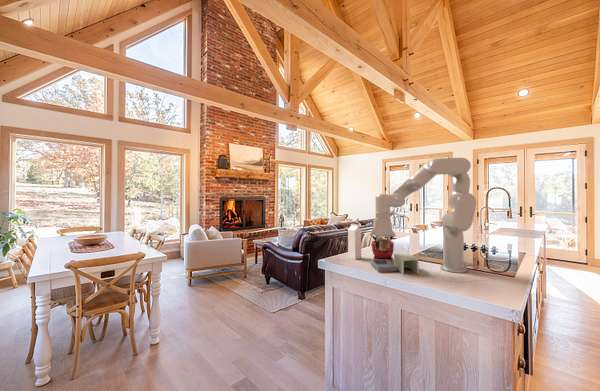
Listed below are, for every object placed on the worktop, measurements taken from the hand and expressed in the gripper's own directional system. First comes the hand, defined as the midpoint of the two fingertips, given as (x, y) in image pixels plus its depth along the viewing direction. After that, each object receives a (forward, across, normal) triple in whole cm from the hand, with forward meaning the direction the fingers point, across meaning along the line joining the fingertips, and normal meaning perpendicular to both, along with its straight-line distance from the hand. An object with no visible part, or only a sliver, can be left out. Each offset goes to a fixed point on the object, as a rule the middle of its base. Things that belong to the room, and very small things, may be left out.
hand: (382, 247), depth 147 cm
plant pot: (+12, -5, -16) cm, 20 cm away
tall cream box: (+11, -11, +5) cm, 17 cm away
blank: (+1, 0, 0) cm, 1 cm away
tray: (+12, 0, 0) cm, 12 cm away
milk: (+12, +11, -23) cm, 28 cm away
